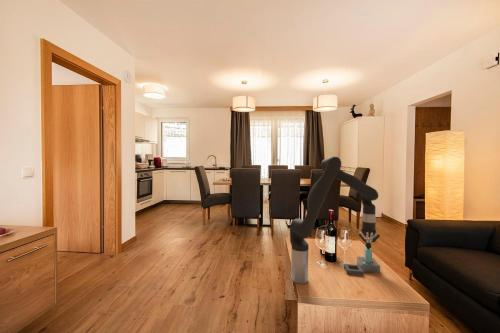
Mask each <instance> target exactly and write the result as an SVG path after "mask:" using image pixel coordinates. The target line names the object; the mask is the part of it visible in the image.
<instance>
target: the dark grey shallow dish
mask: <svg viewBox="0 0 500 333" xmlns="http://www.w3.org/2000/svg"><path fill="white" fill-rule="evenodd" d="M343 269H344V270H345V273H346V275H351V276H360V277H362V276H364V273H365V272H364V271H363V270H362V268H361V267H360V265H357V264H353V263H344V264H343Z"/></svg>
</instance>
